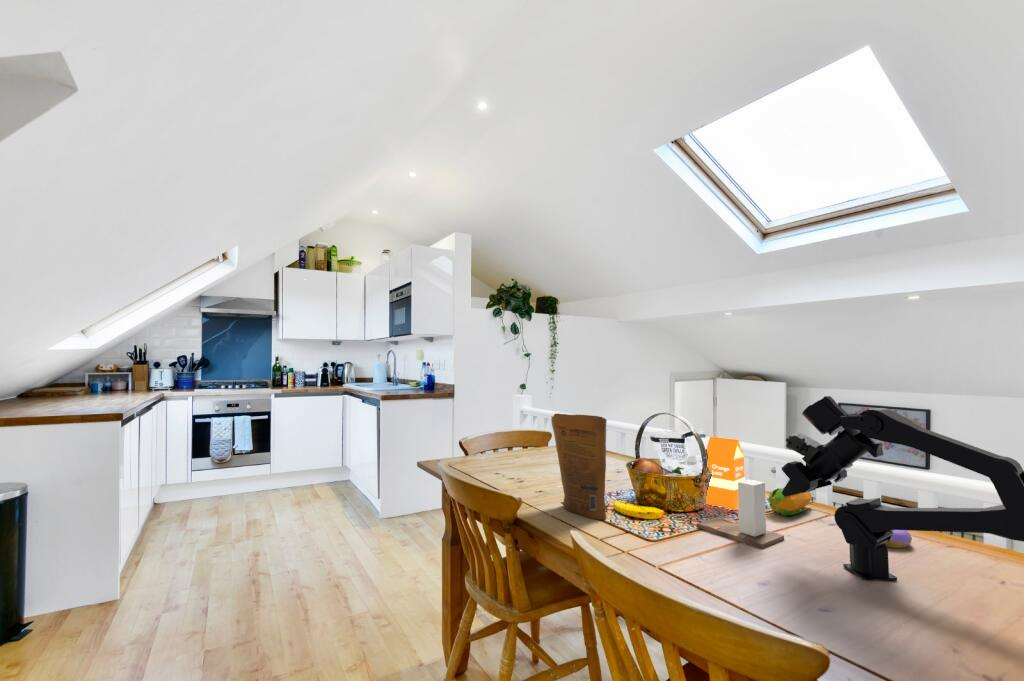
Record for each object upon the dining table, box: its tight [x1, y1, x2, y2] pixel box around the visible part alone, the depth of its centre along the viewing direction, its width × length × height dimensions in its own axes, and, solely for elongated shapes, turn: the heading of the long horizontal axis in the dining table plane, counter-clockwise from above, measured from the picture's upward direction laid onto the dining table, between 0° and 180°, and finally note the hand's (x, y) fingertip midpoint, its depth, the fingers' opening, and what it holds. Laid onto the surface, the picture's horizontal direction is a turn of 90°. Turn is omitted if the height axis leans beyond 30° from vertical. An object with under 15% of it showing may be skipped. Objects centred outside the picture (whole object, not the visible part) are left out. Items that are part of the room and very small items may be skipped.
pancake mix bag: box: [550, 413, 608, 520], centre depth 135 cm, size 7×19×28 cm, turn 39°
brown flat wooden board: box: [696, 516, 785, 550], centre depth 118 cm, size 17×10×1 cm, turn 34°
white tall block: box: [737, 479, 767, 537], centre depth 116 cm, size 4×5×12 cm
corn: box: [767, 486, 813, 517], centre depth 136 cm, size 7×8×20 cm
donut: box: [884, 530, 913, 549], centre depth 113 cm, size 10×9×5 cm
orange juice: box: [706, 436, 746, 510], centre depth 142 cm, size 8×9×20 cm
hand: (788, 493), depth 109 cm, fingers open, 4 cm apart
